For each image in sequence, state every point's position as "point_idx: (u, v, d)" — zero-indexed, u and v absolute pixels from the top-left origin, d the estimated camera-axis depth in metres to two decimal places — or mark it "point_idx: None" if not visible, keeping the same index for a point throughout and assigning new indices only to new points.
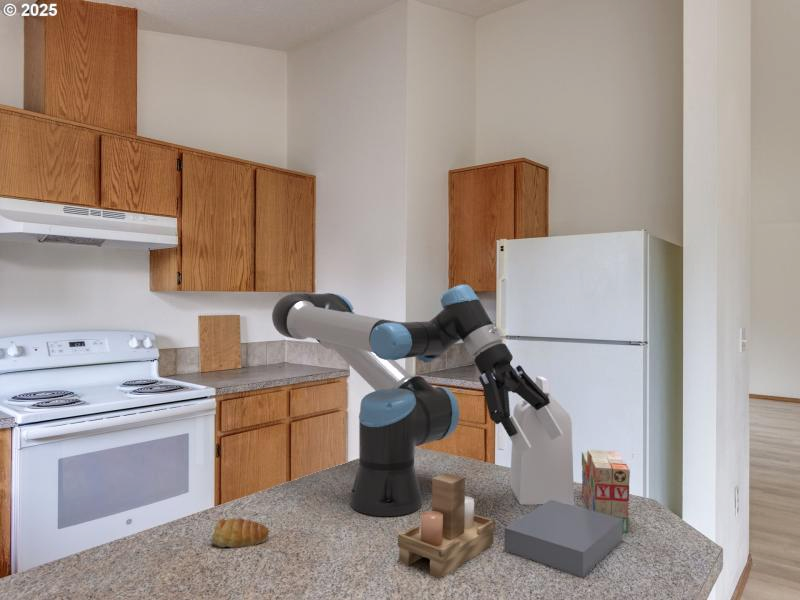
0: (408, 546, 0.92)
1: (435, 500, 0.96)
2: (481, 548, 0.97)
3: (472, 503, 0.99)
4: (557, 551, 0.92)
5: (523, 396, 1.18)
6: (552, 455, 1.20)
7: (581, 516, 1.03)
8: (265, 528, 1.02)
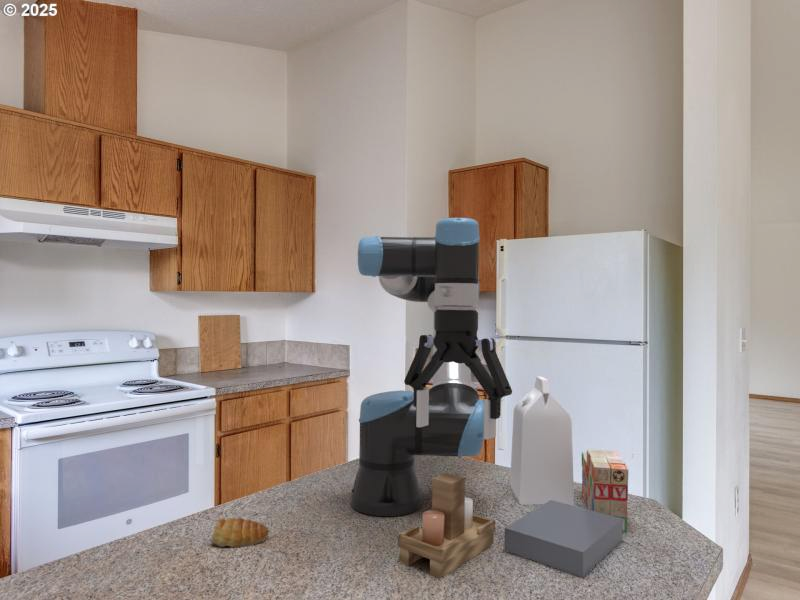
0: (408, 546, 0.92)
1: (435, 500, 0.96)
2: (481, 548, 0.97)
3: (471, 504, 0.99)
4: (557, 551, 0.92)
5: None
6: (552, 455, 1.20)
7: (581, 516, 1.03)
8: (265, 527, 1.02)
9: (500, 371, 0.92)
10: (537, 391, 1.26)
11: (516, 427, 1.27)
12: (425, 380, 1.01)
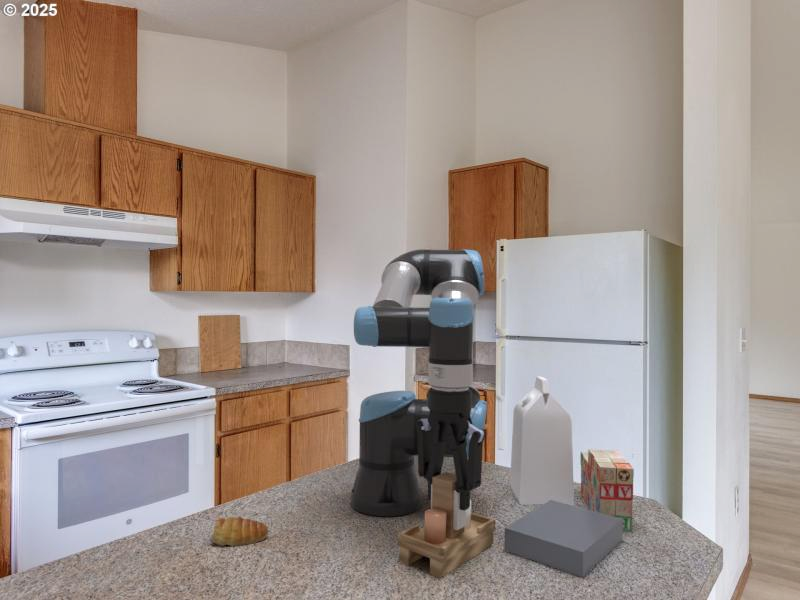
0: (408, 545, 0.92)
1: (435, 499, 0.96)
2: (481, 547, 0.97)
3: None
4: (557, 551, 0.92)
5: None
6: (552, 455, 1.20)
7: (581, 516, 1.03)
8: (264, 526, 1.02)
9: (478, 465, 0.93)
10: (537, 391, 1.26)
11: (516, 427, 1.27)
12: (436, 469, 0.98)
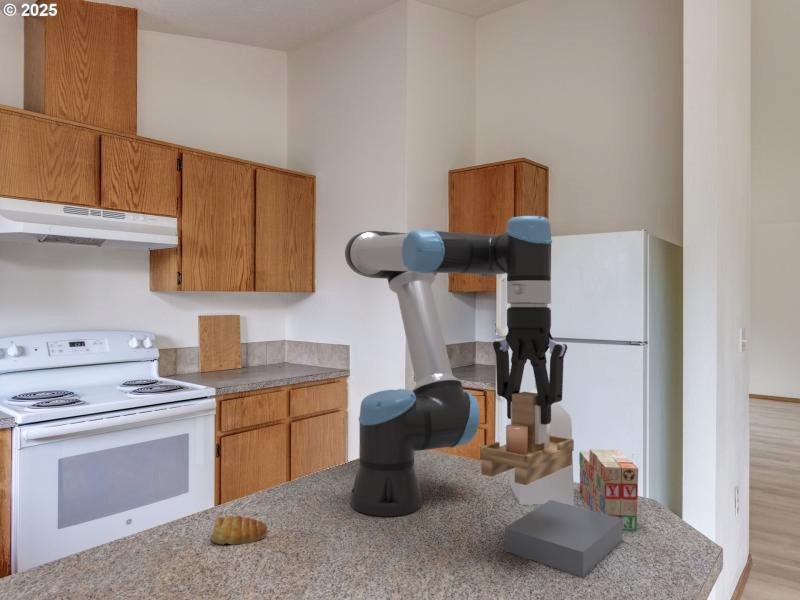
0: (491, 457, 0.94)
1: (515, 415, 0.98)
2: (561, 464, 0.98)
3: None
4: (557, 551, 0.92)
5: None
6: None
7: (581, 516, 1.03)
8: (264, 525, 1.03)
9: (559, 379, 0.94)
10: None
11: None
12: (515, 387, 1.00)
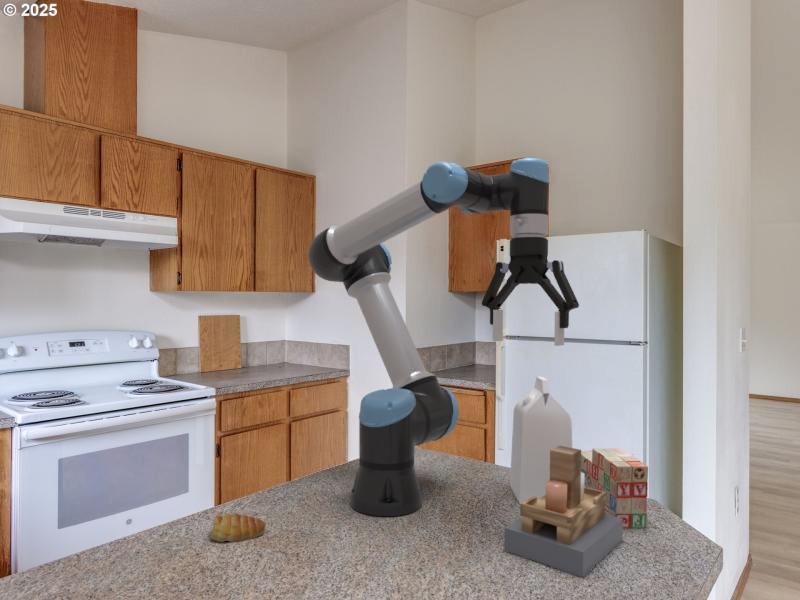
0: (532, 514, 0.95)
1: (553, 471, 0.99)
2: (597, 518, 1.01)
3: (583, 476, 1.02)
4: (557, 551, 0.92)
5: None
6: None
7: None
8: (262, 522, 1.04)
9: (568, 287, 1.08)
10: (537, 391, 1.26)
11: (516, 427, 1.27)
12: (500, 301, 1.17)
